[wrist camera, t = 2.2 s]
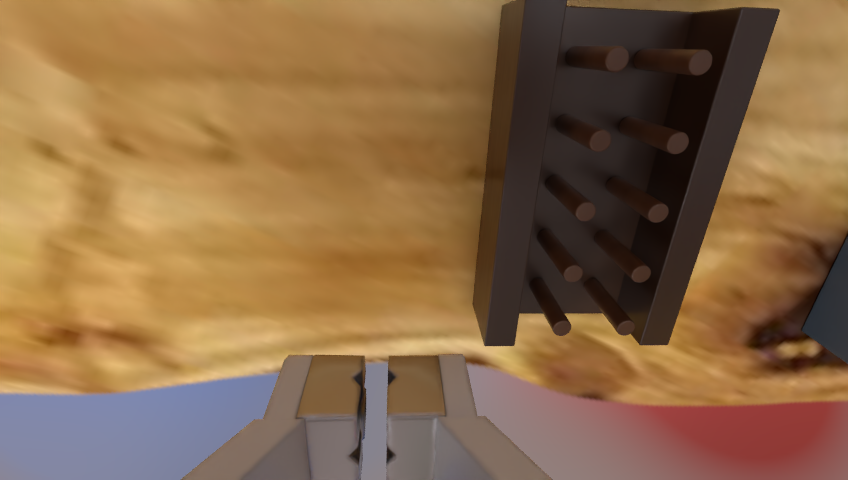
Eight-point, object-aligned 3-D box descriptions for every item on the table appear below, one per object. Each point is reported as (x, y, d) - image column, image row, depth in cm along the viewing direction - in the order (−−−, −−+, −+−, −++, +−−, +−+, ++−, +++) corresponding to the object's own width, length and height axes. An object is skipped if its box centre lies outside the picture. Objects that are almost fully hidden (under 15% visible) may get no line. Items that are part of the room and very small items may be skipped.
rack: (472, 304, 26) (488, 361, 21) (502, 5, 19) (534, -8, 15) (631, 304, 27) (681, 360, 22) (712, 15, 20) (808, 6, 15)
